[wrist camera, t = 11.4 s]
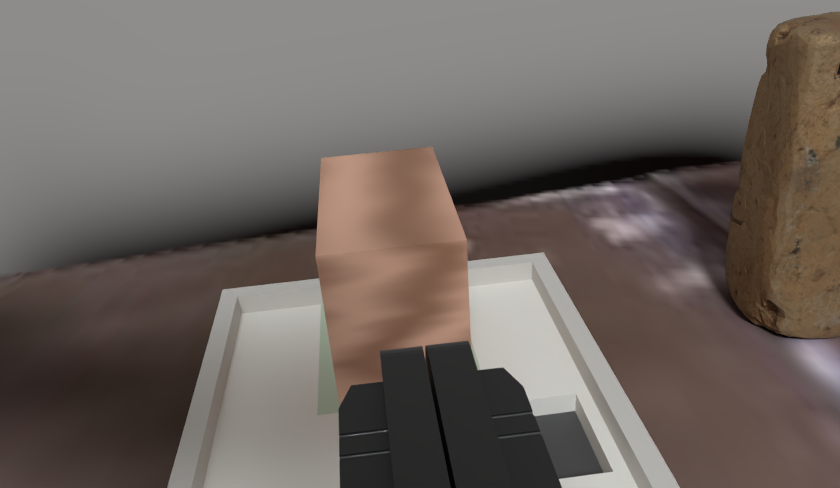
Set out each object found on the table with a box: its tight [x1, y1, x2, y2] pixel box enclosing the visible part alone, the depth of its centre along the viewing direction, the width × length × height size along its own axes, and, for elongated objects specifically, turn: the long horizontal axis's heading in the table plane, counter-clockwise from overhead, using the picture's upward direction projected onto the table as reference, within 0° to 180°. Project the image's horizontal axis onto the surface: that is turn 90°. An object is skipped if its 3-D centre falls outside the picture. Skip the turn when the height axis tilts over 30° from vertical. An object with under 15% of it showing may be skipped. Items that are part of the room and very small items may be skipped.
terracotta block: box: [316, 147, 471, 405], centre depth 40 cm, size 7×13×12 cm, turn 6°
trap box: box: [167, 253, 680, 488], centre depth 37 cm, size 24×32×3 cm
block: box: [725, 12, 840, 339], centre depth 43 cm, size 11×8×20 cm
